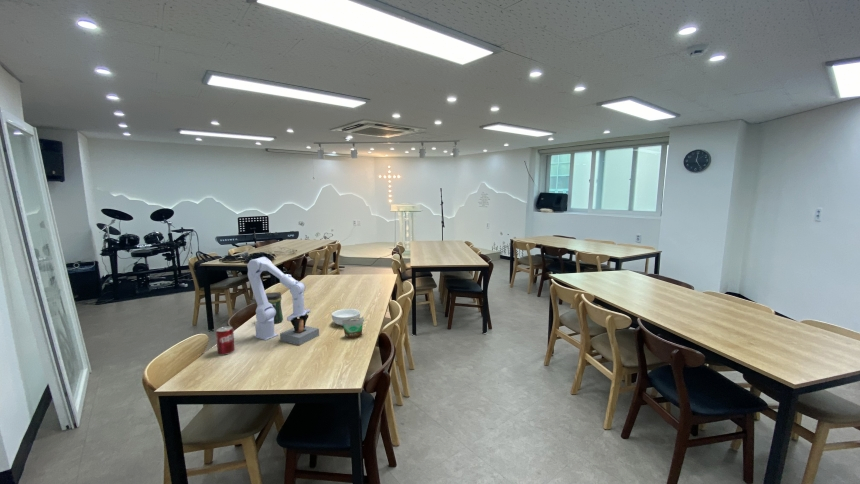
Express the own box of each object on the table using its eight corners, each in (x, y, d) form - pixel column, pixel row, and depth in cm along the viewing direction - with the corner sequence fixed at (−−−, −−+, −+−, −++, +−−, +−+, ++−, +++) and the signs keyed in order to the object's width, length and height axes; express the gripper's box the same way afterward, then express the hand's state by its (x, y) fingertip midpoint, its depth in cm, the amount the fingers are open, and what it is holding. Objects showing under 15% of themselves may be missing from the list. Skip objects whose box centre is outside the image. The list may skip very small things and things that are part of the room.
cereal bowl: (366, 322, 203) (365, 311, 202) (345, 331, 189) (345, 319, 188) (346, 317, 212) (346, 306, 211) (326, 325, 198) (325, 313, 197)
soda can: (238, 350, 164) (236, 327, 162) (224, 356, 157) (223, 332, 156) (227, 348, 166) (225, 325, 165) (213, 354, 159) (212, 330, 158)
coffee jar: (284, 319, 208) (283, 290, 206) (280, 323, 200) (278, 294, 198) (268, 319, 207) (266, 291, 205) (263, 324, 199) (262, 294, 197)
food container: (344, 340, 175) (344, 322, 174) (342, 336, 180) (341, 319, 179) (367, 336, 181) (366, 319, 180) (364, 332, 186) (363, 315, 185)
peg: (294, 334, 177) (293, 320, 176) (300, 331, 181) (299, 317, 180) (300, 335, 176) (299, 321, 175) (305, 332, 179) (304, 318, 178)
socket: (280, 340, 175) (279, 333, 175) (300, 331, 188) (300, 324, 187) (299, 345, 169) (299, 337, 169) (319, 335, 182) (318, 328, 182)
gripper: (293, 310, 168) (294, 335, 170) (314, 302, 181) (315, 326, 183) (283, 308, 171) (284, 333, 173) (304, 300, 184) (305, 324, 186)
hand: (299, 329), depth 178 cm, fingers closed on peg, 4 cm apart
